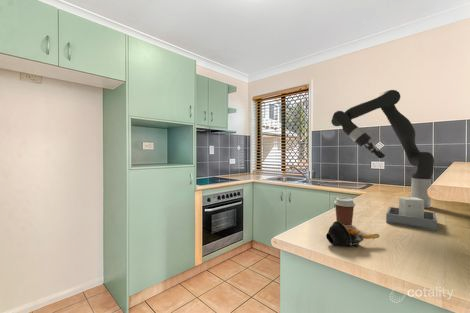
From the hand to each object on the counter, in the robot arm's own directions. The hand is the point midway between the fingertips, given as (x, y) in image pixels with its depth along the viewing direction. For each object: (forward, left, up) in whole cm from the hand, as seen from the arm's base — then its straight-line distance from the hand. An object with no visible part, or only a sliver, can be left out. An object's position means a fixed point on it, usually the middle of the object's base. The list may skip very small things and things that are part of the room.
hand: (382, 157), depth 123 cm
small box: (+11, +13, -30) cm, 34 cm away
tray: (+11, +13, -31) cm, 35 cm away
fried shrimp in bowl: (+56, -3, -31) cm, 64 cm away
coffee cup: (+34, -11, -31) cm, 47 cm away
